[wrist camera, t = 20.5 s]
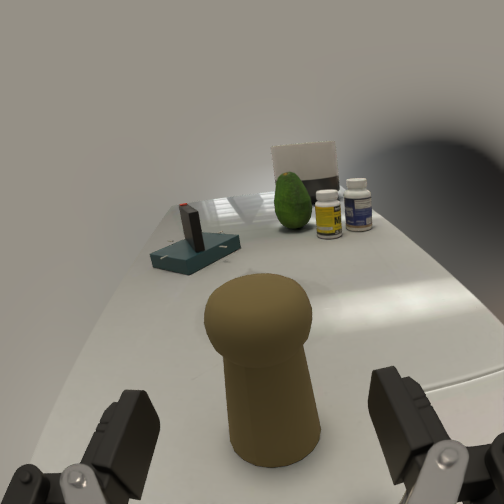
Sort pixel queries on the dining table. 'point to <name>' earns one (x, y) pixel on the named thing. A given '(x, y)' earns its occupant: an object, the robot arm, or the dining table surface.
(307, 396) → the cork
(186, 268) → the teal base plate
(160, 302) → the dining table surface
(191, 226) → the red-tipped black panel
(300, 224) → the avocado
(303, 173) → the planter
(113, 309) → the dining table surface
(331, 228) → the supplement bottle
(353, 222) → the pill bottle
